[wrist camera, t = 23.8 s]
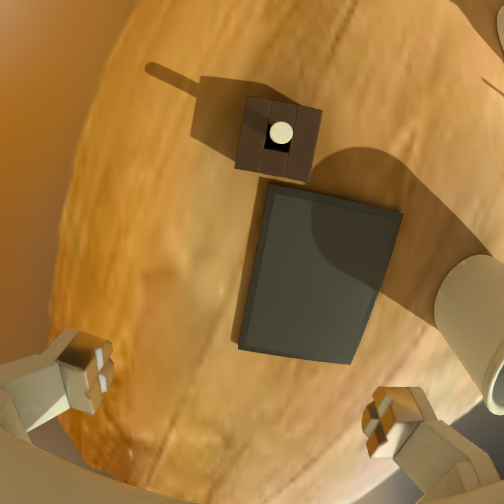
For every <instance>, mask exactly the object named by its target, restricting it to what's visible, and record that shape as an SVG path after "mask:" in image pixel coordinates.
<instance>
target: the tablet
mask: <svg viewBox="0 0 504 504" xmlns="http://www.w3.org/2000/svg"><path fill="white" fill-rule="evenodd" d="M402 216H403V213H401V212H399V211H395V210H391V209H387V208H383V207H379V206H375V205H371V204H367V203H363V202H359V201H354V200H350V199H346V198H341V197H337V196H332V195H328V194H323V193H318V192H314V191H309V190H304V189H299V188H294V187H289V186H284V185H279V184H274V183H269V187H268V192H267V197H266V203H265V208H264V213H263V219H262V224H261V229H260V234H259V240H258V245H257V250H256V256H255V261H254V266H253V271H252V277H251V282H250V287H249V292H248V298H247V303H246V308H245V313H244V318H243V324H242V329H241V334H240V339H239V344H238V349H240V350H245V351H251V352H257V353H263V354H270V355H276V356H283V357H290V358H297V359H304V360H312V361H320V362H329V363H338V364H348V365H350V364H351V362H352V360H353V357H354V355H355V353H356V350H357V348H358V345H359V343H360V341H361V338H362V336H363V333H364V331H365V328H366V325H367V323H368V320H369V318H370V315H371V312H372V310H373V307H374V304H375V301H376V299H377V296H378V293H379V290H380V287H381V284H382V281H383V279H384V276H385V273H386V269H387V266H388V263H389V260H390V257H391V254H392V251H393V247H394V244H395V241H396V237H397V234H398V230H399V227H400V223H401V220H402Z"/></svg>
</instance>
